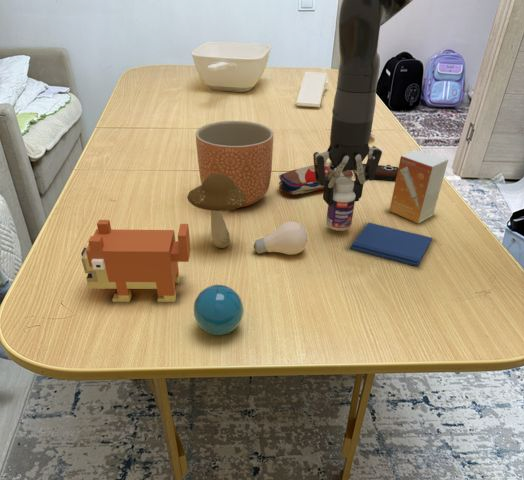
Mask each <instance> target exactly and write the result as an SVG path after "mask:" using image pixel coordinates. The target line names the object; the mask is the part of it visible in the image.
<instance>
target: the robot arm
mask: <svg viewBox="0 0 524 480" xmlns="http://www.w3.org/2000/svg"><path fill="white" fill-rule="evenodd" d="M413 1H414V0H341V2H340V8H339V9H340V10H339V15H338V49H339V56H340V57H339V64H338V70H337V71H338V72H337V81H336V90H335V95H334V99H333V106H332V112H331V113H332V115H331V116H332V117H331V127H330V136H329V146H328V148H327V150H326V151H323V152H319V151H315V152H314V153H313V155H312V157H313V165H314V169H315V179H316V181H317V182H318V183H319V184H320V185H321V186H324V189H323V192H322V200H323V201H324V202H325V204H327V206H328V205H332V201H333V192H334V187H333V186H334V184H335V182H336V180H337V178H339V177H340V175H341V173H342V172H344V171H347V170H351V171H352V173H353V176H354V177H353V178H354V180H353V181H354V188H353V191H354V192H355V195H356V197H355V203H356V202H359V201H360V199H361V198H362V196H363V190H364V184H365V183H366V182H368V181H372V180H373V179H374V175H375V172H376V170H377V167H378V165H380V161H381V157H382V155H383V150H381V149H380V148H379V147H377V146H375V145H373V146H369V143H370V141H371V136H372V135H371V134H372V128H373V122H374V116H375V111H376V110H375V109H376V101H377V88H378V81H379V75H380V67H381V57H380V53H379V52H378V49H379V38H380V32H381V31H380V30H381V27H382V26H383V25H384V24H386V23H387V22H388V21H389V20H391V19H392V18H394V16H396V15H397V14H398V13H400V12H401V11H402V10H403V9H405V8H406V7H408V5H410V3H412V2H413ZM366 158H367V159H366ZM328 159H329V162H330V165H329V167H328V169H327V174H326V176H325V167H324V165H326V163H328V162H327V161H328ZM365 159H366V163H365V164H366V166H365V169H364V168H363V164H364V163H363V161H364V160H365ZM335 168H336V170H335Z"/></svg>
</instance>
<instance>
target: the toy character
mask: <svg viewBox="0 0 524 480" xmlns="http://www.w3.org/2000/svg"><path fill="white" fill-rule="evenodd" d="M96 227H97V229H95V231H94V234H93V235H90V237H89V238H88V241H87V243H88V244H87V246H86V247H83V249H82V251H81V253H80V254H81V258H80V260H81V263H82V267H83V270H84V274H87V275H86V282H87V285H88V289H106V290H107V289H110V290H111V289H112V290H113V289H116V291H117V293H114V294H113V297H112V299H111V300H112V303H113V302H115V303H117V302H118V303H130V302H131V300H132V296H133V295H132V290H133V289H136V290H137V289H138V290H139V289H142V290H143V289H144V290H146V289H149V290H156V291H157V299H156V300H157V302H158V303H176V299H177V291H176V284H179V283H180V279H181V278H180V271H179V270H180V269H179V263H189V261H190V257H191V255H190V254H191V239H190V228H189V223H180V224H179V228H178V233H177V241H176V235H175V229H112V226H111V221H110V219H98V220H97V222H96ZM131 289H132V290H131Z"/></svg>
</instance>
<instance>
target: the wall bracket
mask: <svg viewBox="0 0 524 480" xmlns="http://www.w3.org/2000/svg"><path fill="white" fill-rule="evenodd" d="M327 76H328V73H327V72H315V71H305V72H304V75H303V78H302V79H301V85H300V88H299V92H298V94H297V98H296V101H295V105H296V106H297V107H304V108H320V107H321V103H322V99H323V95H324V92H326V88H327V87H328V85H329V80H328V77H327Z"/></svg>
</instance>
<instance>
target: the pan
mask: <svg viewBox="0 0 524 480" xmlns="http://www.w3.org/2000/svg"><path fill="white" fill-rule="evenodd" d="M271 49H272V46H271V45H269V44H263V43H251V42H235V41H234V42H233V41H207V42H204V43H202V44H201V45H199V46H198V47H196V48H195V49H194V50H193V51H191V53H190V55H191V57H192V59H193V63H194V67H195V70H196V72H197V74H198V76H199V78H200V79H201V81H202V82H203V83H204V84H205V86H207V87H208V88H209V89H211V90H213V91H219V92H220V91H221V92H235V93H246V92H249V91H251V90H252V89H253V87H255V85H256V84H257V83H258V82H259V80H260V79H261V78H262V76H263V74H264V72H265V70H266V68H267V65H268V61H269V57H270V53H271Z"/></svg>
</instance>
